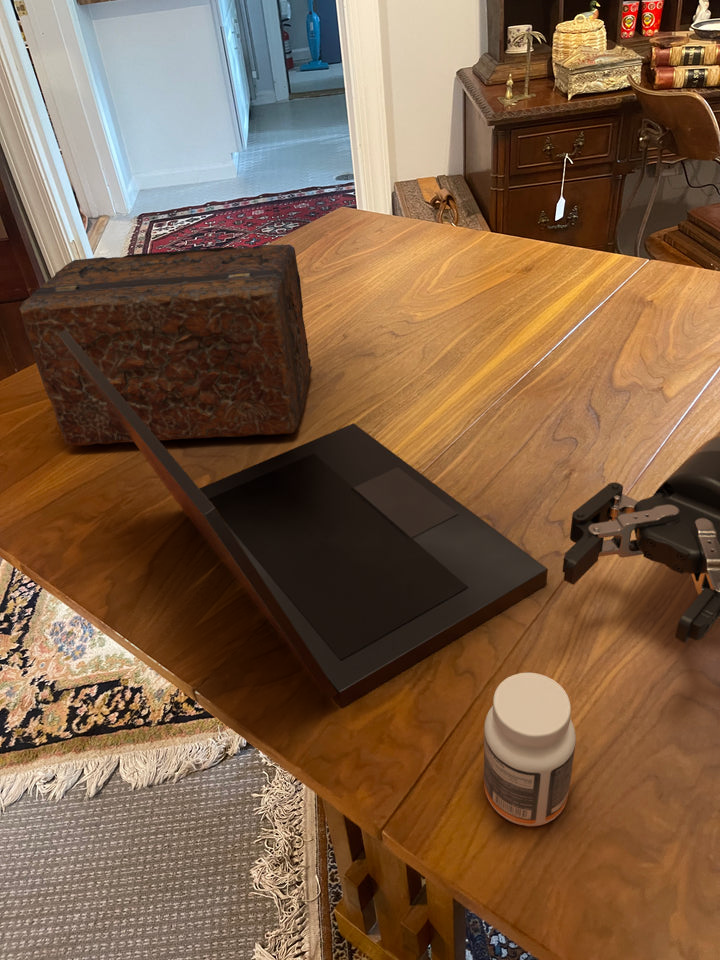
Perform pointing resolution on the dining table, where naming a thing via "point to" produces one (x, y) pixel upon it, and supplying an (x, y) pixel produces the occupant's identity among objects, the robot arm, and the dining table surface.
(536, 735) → the pill bottle
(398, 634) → the laptop
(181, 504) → the laptop screen
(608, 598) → the dining table surface
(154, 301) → the decorative box
